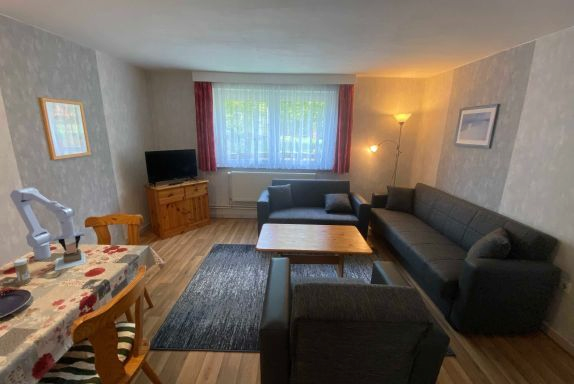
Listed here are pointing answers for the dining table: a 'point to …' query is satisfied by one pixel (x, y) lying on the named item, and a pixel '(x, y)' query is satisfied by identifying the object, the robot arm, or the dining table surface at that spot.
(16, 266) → the spice jar
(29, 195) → the robot arm
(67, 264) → the board
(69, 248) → the terracotta block
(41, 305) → the dining table surface
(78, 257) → the frame
